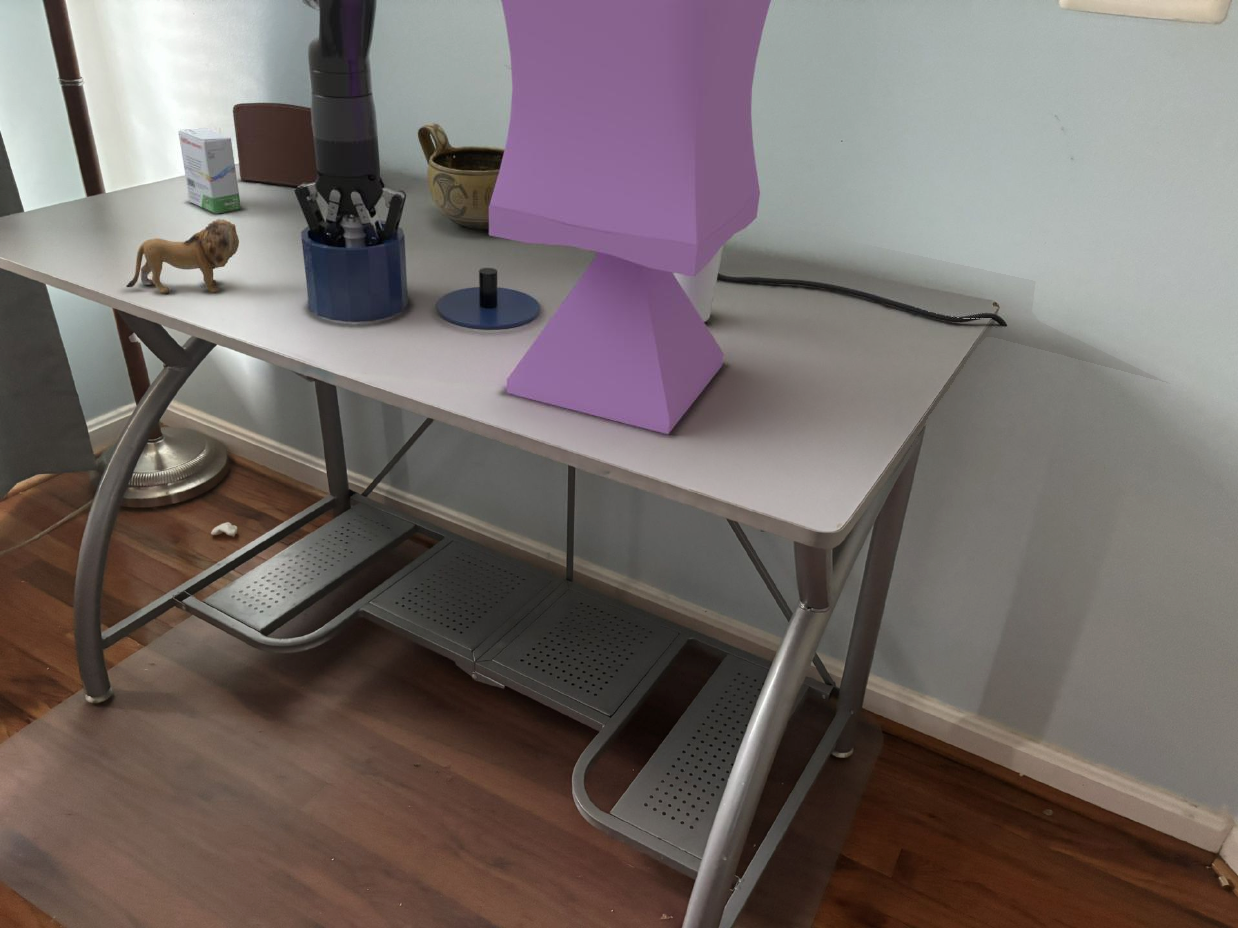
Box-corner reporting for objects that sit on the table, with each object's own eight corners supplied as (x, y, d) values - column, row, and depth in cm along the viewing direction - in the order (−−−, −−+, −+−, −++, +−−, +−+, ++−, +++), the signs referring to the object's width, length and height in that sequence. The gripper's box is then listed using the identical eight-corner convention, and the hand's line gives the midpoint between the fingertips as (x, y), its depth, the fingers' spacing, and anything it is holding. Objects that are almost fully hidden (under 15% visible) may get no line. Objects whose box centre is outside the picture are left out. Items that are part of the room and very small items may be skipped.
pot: (418, 294, 133) (415, 223, 127) (391, 329, 122) (387, 253, 117) (328, 285, 133) (321, 214, 128) (294, 320, 122) (285, 244, 117)
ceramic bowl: (563, 224, 163) (566, 133, 156) (512, 251, 150) (513, 153, 142) (452, 200, 171) (449, 112, 163) (394, 224, 157) (388, 130, 150)
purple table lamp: (573, 326, 126) (589, -62, 103) (736, 363, 120) (793, -43, 96) (489, 395, 108) (486, -57, 85) (675, 443, 102) (727, -33, 78)
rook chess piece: (367, 284, 123) (362, 223, 119) (334, 280, 124) (328, 219, 120) (381, 272, 127) (376, 213, 123) (349, 268, 128) (344, 209, 123)
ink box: (242, 209, 159) (232, 136, 153) (214, 215, 156) (203, 140, 150) (216, 197, 164) (205, 126, 158) (188, 202, 160) (176, 129, 154)
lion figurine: (244, 277, 134) (235, 213, 129) (246, 291, 129) (236, 225, 125) (128, 284, 129) (114, 218, 124) (125, 299, 125) (111, 231, 120)
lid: (546, 299, 134) (547, 258, 131) (530, 338, 122) (531, 294, 119) (450, 290, 135) (449, 249, 131) (425, 328, 123) (423, 284, 120)
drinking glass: (681, 330, 128) (693, 219, 120) (656, 311, 133) (666, 204, 125) (724, 323, 131) (738, 215, 123) (698, 305, 136) (710, 200, 128)
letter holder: (345, 193, 170) (338, 110, 163) (239, 181, 172) (228, 99, 165) (366, 179, 179) (361, 100, 171) (266, 168, 181) (256, 89, 174)
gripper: (412, 129, 119) (419, 262, 128) (299, 120, 119) (313, 253, 128) (394, 143, 112) (403, 282, 121) (275, 133, 113) (292, 272, 122)
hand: (357, 266), depth 125 cm, fingers closed on rook chess piece, 4 cm apart
